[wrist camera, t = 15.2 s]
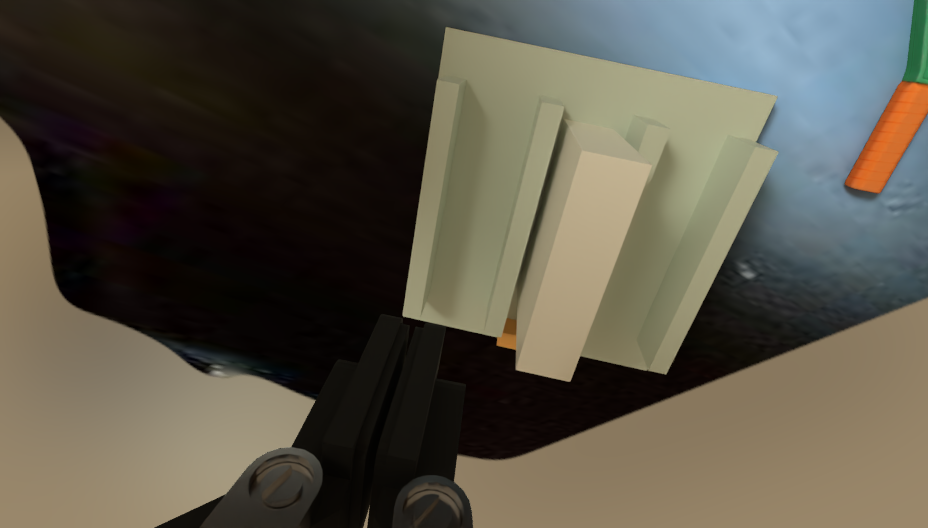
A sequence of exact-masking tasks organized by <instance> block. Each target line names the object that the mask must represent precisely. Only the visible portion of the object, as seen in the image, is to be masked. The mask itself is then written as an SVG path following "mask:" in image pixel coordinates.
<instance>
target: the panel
mask: <svg viewBox="0 0 928 528" xmlns="http://www.w3.org/2000/svg"><path fill="white" fill-rule="evenodd" d="M651 168H652V164H650V163H649V162H648V161H647V160H646V159H645V158H644V157H643V156H642V155H641V154H640V153H639V152H638V151H636V150H635V149H634V148H633V147H632V146H631V145H630V144H629V143H628V142H627V141H626V140H625V139H624V138H622V137H621V136H620V135H619V134H618V133H617V132H616V131H615V130H614V129H610V128H605V127H600V126H596V125H591V124H586V123H581V122H577V121H572V120H567V119H564V122H563V125H562V129H561V133H560V136H559V140H558V143H557V147H556V151H555V154H554V158H553V162H552V165H551V169H550V173H549V176H548V180H547V183H546V187H545V191H544V194H543V198H542V202H541V205H540V209H539V213H538V216H537V220H536V223H535V227H534V231H533V234H532V238H531V242H530V245H529V249H528V252H527V256H526V260H525V263H524V267H523V271H522V274H521V278H520V282H519V285H518V289H517V331H516V370H519V371H523V372H527V373H532V374H536V375H541V376H545V377H550V378H554V379H559V380H563V381H568V382H570V381H571V379H572V376H573V373H574V371H575V368H576V365H577V363H578V360H579V357H580V355H581V352H582V350H583V347H584V344H585V342H586V339H587V336H588V334H589V331H590V328H591V326H592V323H593V321H594V318H595V315H596V313H597V310H598V307H599V305H600V302H601V299H602V297H603V294H604V292H605V289H606V286H607V284H608V281H609V278H610V276H611V273H612V270H613V268H614V265H615V263H616V260H617V257H618V255H619V252H620V249H621V247H622V244H623V241H624V239H625V236H626V234H627V231H628V228H629V226H630V223H631V220H632V218H633V215H634V212H635V210H636V207H637V205H638V202H639V199H640V197H641V194H642V191H643V189H644V186H645V183H646V181H647V178H648V176H649V173H650V170H651Z"/></svg>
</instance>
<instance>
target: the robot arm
mask: <svg viewBox="0 0 928 528" xmlns="http://www.w3.org/2000/svg"><path fill="white" fill-rule="evenodd" d="M409 328H410V326H409V325H405V324H403V319H402V318H399V317H394V316H389V315H383V314H381V315H380V317H379V319H378V322H377V324H376V326H375V328H374V330H373V333H372V335H371V337H370V339H369V341H368V344H367V346H366V348H365V350H364V352H363V355H362V357H361V359H360V361H359V363H355V362H350V361H345V360H340V359H339V360H338V361H337V362H336V363H335V365H334V367H333V369H332V371H331V373H330V374H329V376H328V378H327V380H326V382H325V384H324V386H323V388H322V390H321V392H320V393H319V395H318V397H317V399H316V401H315V403H314V405H313V407H312V409H311V411H310V413H309V415H308V416H307V418H306V420H305V422H304V424H303V426H302V428H301V430H300V432H299V434H298V435H297V437H296V439H295V441H294V443H293V445H292V447H290V448H279V449H276V450H273V451H270V452H267V453H265V454H264V455H262V456H260V457H259V458H257V459H256V460H255V461H254V462H253V463H252V464H251V465H249V466H248V467H247V469H246V470H245V471H244V472H243V473H242V475H241V476H240V477H239V479H238V480H237V481H236V482H235V484H234V485H233V486H232V487H231V489H230V490H229V491H228V492H227V494H225V495H223V496H221V497H219V498H217V499H215V500H213V501H210V502H208V503H206V504H204V505H202V506H200V507H198V508H196V509H193V510H191V511H189V512H187V513H185V514H183V515H180V516H178V517H176V518H174V519H172V520H170V521H168V522H165V523H163V524H161V525H159V526H157V527H155V528H363V526H364V522H365V519H366V516H367V512H368V509H369V506H370V509H369V518H368V526H367V528H473V520H472V510H471V506H470V502H469V499H468V498H467V496H466V494H465V492H464V491H463V490H462V489H461V488H460V487H459V486H458V485H457V484H456V483H455V482H454V476H455V468H456V460H457V452H458V444H459V436H460V428H461V420H462V412H463V404H464V396H465V387H466V384H462V383H457V382H452V381H447V380H442V379H436V378H437V373H438V367H439V362H440V357H441V352H442V346H443V341H444V336H445V330H446V327H445V326H439V325H434V324H429V323H425V325H424V328H420V327H416V328H415V331H414V334H413V337H412V340H411V343H410V346H409V350H408V353H407V356H406V350H407V343H408V336H409ZM405 357H406V359H405Z"/></svg>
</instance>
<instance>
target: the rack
mask: <svg viewBox="0 0 928 528" xmlns="http://www.w3.org/2000/svg"><path fill="white" fill-rule="evenodd" d="M777 97H778V96H774V95H770V94H765V93H760V92H755V91H750V90H746V89H741V88H736V87H731V86H726V85H722V84H717V83H712V82H707V81H702V80H698V79H693V78H688V77H683V76H679V75H674V74H669V73H664V72H659V71H655V70H650V69H645V68H640V67H635V66H631V65H626V64H621V63H616V62H611V61H607V60H602V59H597V58H592V57H587V56H583V55H578V54H573V53H568V52H563V51H559V50H554V49H549V48H544V47H539V46H535V45H530V44H525V43H520V42H516V41H511V40H506V39H501V38H496V37H492V36H487V35H482V34H477V33H472V32H468V31H463V30H458V29H453V28H448V27H446V30H445V36H444V43H443V50H442V57H441V63H440V70H439V77H438V80H437V84H436V91H435V97H434V104H433V111H432V118H431V125H430V132H429V138H428V145H427V152H426V159H425V166H424V172H423V179H422V186H421V193H420V200H419V207H418V213H417V220H416V227H415V234H414V241H413V247H412V254H411V261H410V268H409V275H408V282H407V288H406V295H405V302H404V309H403V316H404V317H409V318H413V319H417V320H422V321H426V322H431V323H435V324H440V325H444V326H449V327H453V328H458V329H462V330H467V331H471V332H475V333H480V334H484V335H489V336H493V337H497V346H501V347H506V348H510V349H514V350H516V331H517V289H518V285H519V282H520V278H521V274H522V271H523V267H524V263H525V260H526V256H527V252H528V249H529V245H530V242H531V238H532V234H533V231H534V227H535V223H536V220H537V216H538V213H539V209H540V205H541V202H542V198H543V194H544V191H545V187H546V183H547V180H548V176H549V173H550V169H551V165H552V162H553V158H554V154H555V151H556V147H557V143H558V140H559V136H560V133H561V129H562V125H563V122H564V119H567V120H572V121H577V122H581V123H586V124H591V125H596V126H600V127H605V128H610V129H614V130H615V131H616V132H617V133H618V134H619V135H620V136H621V137H622V138H624V139H625V140H626V141H627V142H628V143H629V144H630V145H631V146H632V147H633V148H634V149H635V150H636V151H638V152H639V153H640V154H641V155H642V156H643V157H644V158H645V159H646V160H647V161H648V162H649V163H650V164H652V168H651V170H650V173H649V176H648V178H647V181H646V183H645V186H644V189H643V191H642V194H641V197H640V199H639V202H638V205H637V207H636V210H635V212H634V215H633V218H632V220H631V223H630V226H629V228H628V231H627V234H626V236H625V239H624V241H623V244H622V247H621V249H620V252H619V255H618V257H617V260H616V263H615V265H614V268H613V270H612V273H611V276H610V278H609V281H608V284H607V286H606V289H605V292H604V294H603V297H602V299H601V302H600V305H599V307H598V310H597V313H596V315H595V318H594V321H593V323H592V326H591V328H590V331H589V334H588V336H587V339H586V342H585V344H584V347H583V350H582V352H581V355H580V356H583V357H587V358H591V359H596V360H600V361H605V362H609V363H614V364H618V365H623V366H627V367H632V368H636V369H640V370H645V371H647V369H648V371H652V372H657V373H661V374H667V372H668V370H669V368H670V366H671V364H672V362H673V360H674V358H675V356H676V354H677V352H678V350H679V348H680V346H681V344H682V342H683V340H684V338H685V336H686V334H687V332H688V330H689V328H690V326H691V324H692V322H693V320H694V318H695V316H696V314H697V312H698V310H699V308H700V306H701V304H702V302H703V301H704V299H705V297H706V295H707V293H708V291H709V289H710V287H711V285H712V283H713V281H714V279H715V277H716V275H717V273H718V271H719V269H720V267H721V265H722V263H723V261H724V259H725V257H726V255H727V253H728V251H729V249H730V247H731V245H732V243H733V241H734V239H735V237H736V235H737V233H738V231H739V229H740V227H741V225H742V223H743V221H744V219H745V217H746V215H747V213H748V211H749V209H750V207H751V206H752V204H753V202H754V200H755V198H756V196H757V194H758V192H759V190H760V188H761V186H762V184H763V182H764V180H765V178H766V176H767V174H768V172H769V170H770V168H771V166H772V164H773V162H774V160H775V158H776V156H777V154H778V151H775V150H773V149H771V148H768V147H766V146H763V145H761V144H759V143H756V141H757V139H758V137H759V135H760V133H761V131H762V128H763V126H764V124H765V122H766V120H767V118H768V116H769V114H770V112H771V110H772V108H773V105H774V103H775V101H776V99H777Z"/></svg>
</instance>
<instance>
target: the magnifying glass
mask: <svg viewBox="0 0 928 528" xmlns="http://www.w3.org/2000/svg"><path fill="white" fill-rule="evenodd" d="M927 113H928V0H914V7H913V16H912V25H911V34H910V43H909V52H908V61H907V68H906V72H905V74H904V77H903V79H902V82H901V83H900V84H899V85H898V87H897V89H896V91H895V92H894V94H893V96H892V98H891V100H890V102H889V103H888V105H887V107H886V109H885V110H884V112H883V114H882V115H881V117H880V119H879V121H878V123H877V125H876V126H875V128H874V130H873V132H872V134H871V136H870V137H869V140H868V141H867V143H866V145H865V147H864V149H863V150H862V152H861V154H860V156H859V158H858V159H857V161H856V163H855V165H854V167H853V168H852V170H851V172H850V174H849V176H848V178H847V179H846V181H845V185H846V186H848V187H851V188H854V189H858V190H863V191H868V192H873V193H880V192H881V191H882V189H883V188H884V186H885V185H886V183H887V181H888V179H889V178H890V176H891V174H892V172H893V170H894V169H895V167H896V166H897V164H898V162H899V160H900V159H901V157H902V155H903V153H904V152H905V150H906V149H907V147H908V145H909V143H910V142H911V140H912V138H913V137H914V135H915V133H916V132H917V130H918V128H919V127H920V125H921V123H922V122H923V120H924V118H925V117H926V115H927Z"/></svg>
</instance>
